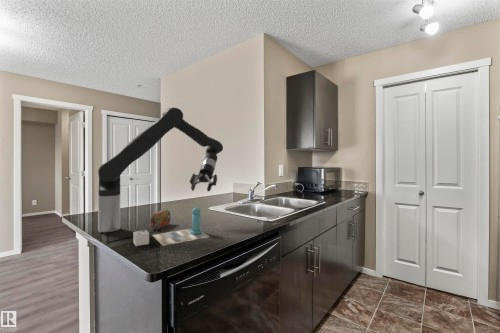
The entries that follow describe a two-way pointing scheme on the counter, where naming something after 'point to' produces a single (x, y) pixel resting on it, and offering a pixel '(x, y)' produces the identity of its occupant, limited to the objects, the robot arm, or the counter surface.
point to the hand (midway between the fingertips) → (200, 190)
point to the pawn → (196, 221)
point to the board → (177, 237)
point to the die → (141, 237)
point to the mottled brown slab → (160, 219)
